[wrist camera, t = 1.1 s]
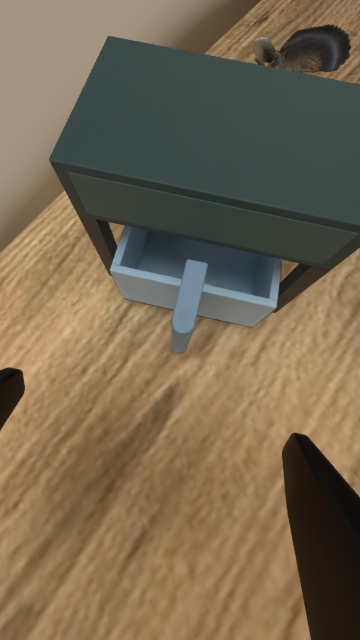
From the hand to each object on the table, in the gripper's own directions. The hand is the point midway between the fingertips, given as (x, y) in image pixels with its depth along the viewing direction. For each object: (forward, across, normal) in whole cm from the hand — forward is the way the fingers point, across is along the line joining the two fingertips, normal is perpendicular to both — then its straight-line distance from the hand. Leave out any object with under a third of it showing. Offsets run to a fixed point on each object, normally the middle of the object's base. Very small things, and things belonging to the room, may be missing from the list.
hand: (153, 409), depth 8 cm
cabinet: (+20, 0, -1) cm, 20 cm away
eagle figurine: (+36, -6, -18) cm, 41 cm away
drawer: (+17, 0, +1) cm, 17 cm away
